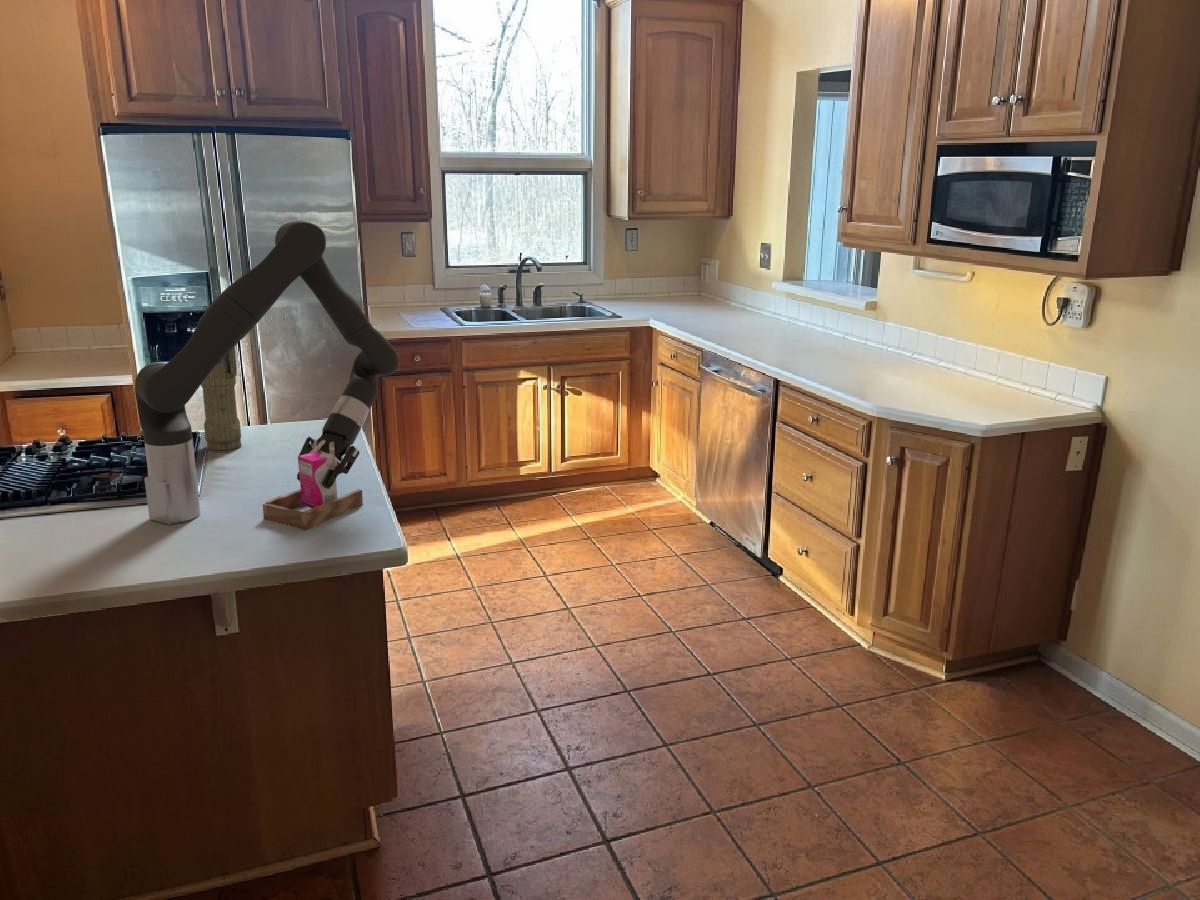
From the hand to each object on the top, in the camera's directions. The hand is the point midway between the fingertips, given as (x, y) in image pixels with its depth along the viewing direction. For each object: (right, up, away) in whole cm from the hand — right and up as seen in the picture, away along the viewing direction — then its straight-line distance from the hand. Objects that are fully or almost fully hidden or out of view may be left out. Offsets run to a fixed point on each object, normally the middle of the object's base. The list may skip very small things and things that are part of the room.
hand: (312, 483), depth 198 cm
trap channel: (0, -6, +2) cm, 7 cm away
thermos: (-38, +8, +44) cm, 58 cm away
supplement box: (+1, -5, +3) cm, 6 cm away
